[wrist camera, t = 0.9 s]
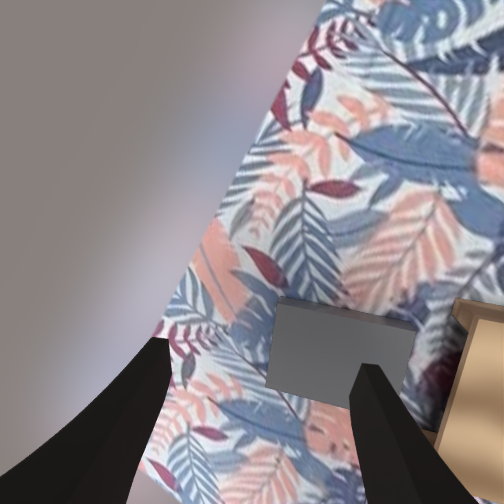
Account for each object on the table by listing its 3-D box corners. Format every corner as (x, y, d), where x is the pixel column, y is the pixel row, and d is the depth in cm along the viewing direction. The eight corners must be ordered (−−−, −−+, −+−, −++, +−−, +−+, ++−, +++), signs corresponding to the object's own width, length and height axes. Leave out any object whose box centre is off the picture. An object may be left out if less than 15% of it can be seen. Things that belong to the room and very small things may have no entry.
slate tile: (388, 403, 31) (392, 421, 29) (269, 372, 34) (265, 387, 31) (409, 319, 29) (416, 331, 27) (281, 294, 32) (277, 303, 29)
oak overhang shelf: (520, 469, 29) (553, 519, 24) (414, 440, 31) (428, 482, 26) (579, 319, 25) (629, 347, 21) (455, 297, 27) (478, 318, 23)
